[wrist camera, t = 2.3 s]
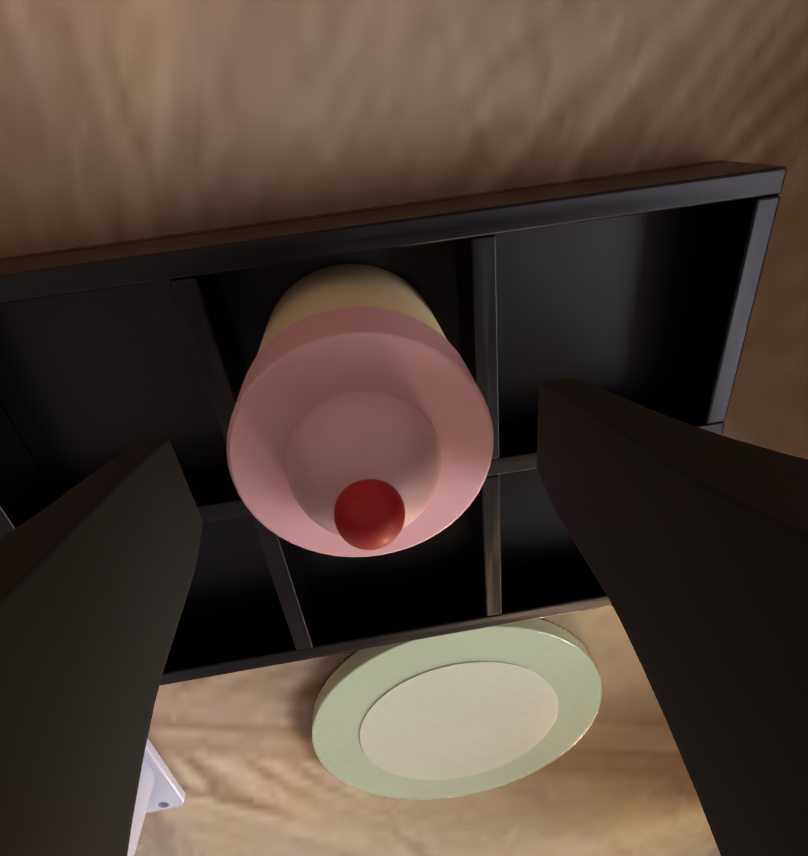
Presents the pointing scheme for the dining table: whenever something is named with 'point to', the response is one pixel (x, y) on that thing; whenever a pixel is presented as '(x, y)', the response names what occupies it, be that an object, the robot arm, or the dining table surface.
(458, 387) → the cupcake
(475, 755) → the plate
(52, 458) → the black compartment tray
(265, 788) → the dining table surface
